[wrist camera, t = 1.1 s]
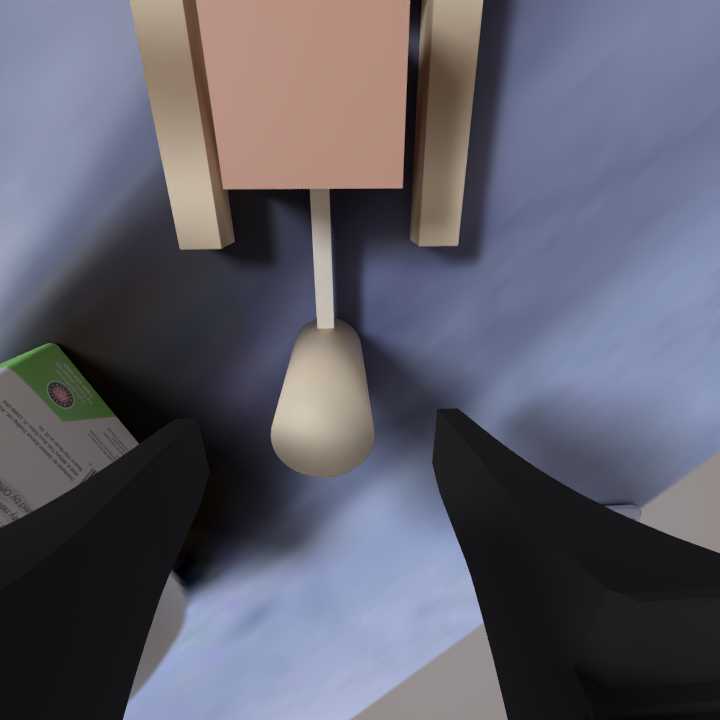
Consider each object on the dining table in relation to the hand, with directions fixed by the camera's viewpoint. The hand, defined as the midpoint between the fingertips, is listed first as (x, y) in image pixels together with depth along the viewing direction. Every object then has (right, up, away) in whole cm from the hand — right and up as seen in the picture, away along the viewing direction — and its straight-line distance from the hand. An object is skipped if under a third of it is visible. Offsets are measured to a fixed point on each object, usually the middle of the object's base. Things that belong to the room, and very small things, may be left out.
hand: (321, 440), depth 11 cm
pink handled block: (0, +8, +4) cm, 9 cm away
